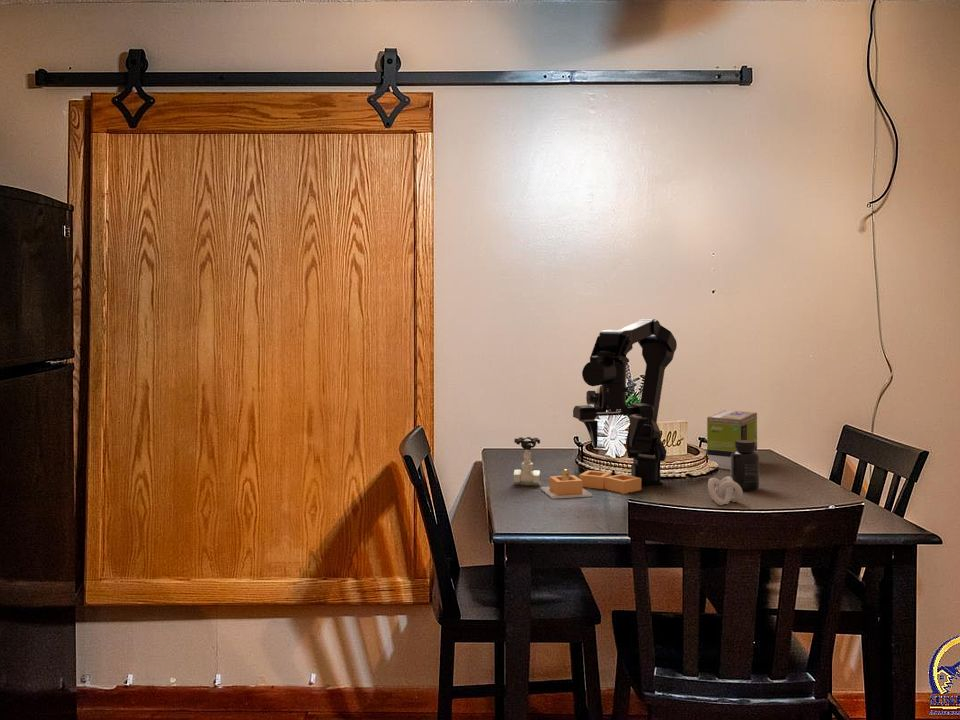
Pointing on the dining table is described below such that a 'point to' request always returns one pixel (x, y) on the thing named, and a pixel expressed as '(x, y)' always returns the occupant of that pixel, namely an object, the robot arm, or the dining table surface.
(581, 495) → the plate with brass peg
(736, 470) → the supplement bottle
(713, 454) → the tea box
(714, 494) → the knot
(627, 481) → the chain link
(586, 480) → the chain link
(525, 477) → the valve
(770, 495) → the dining table surface
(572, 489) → the end link
